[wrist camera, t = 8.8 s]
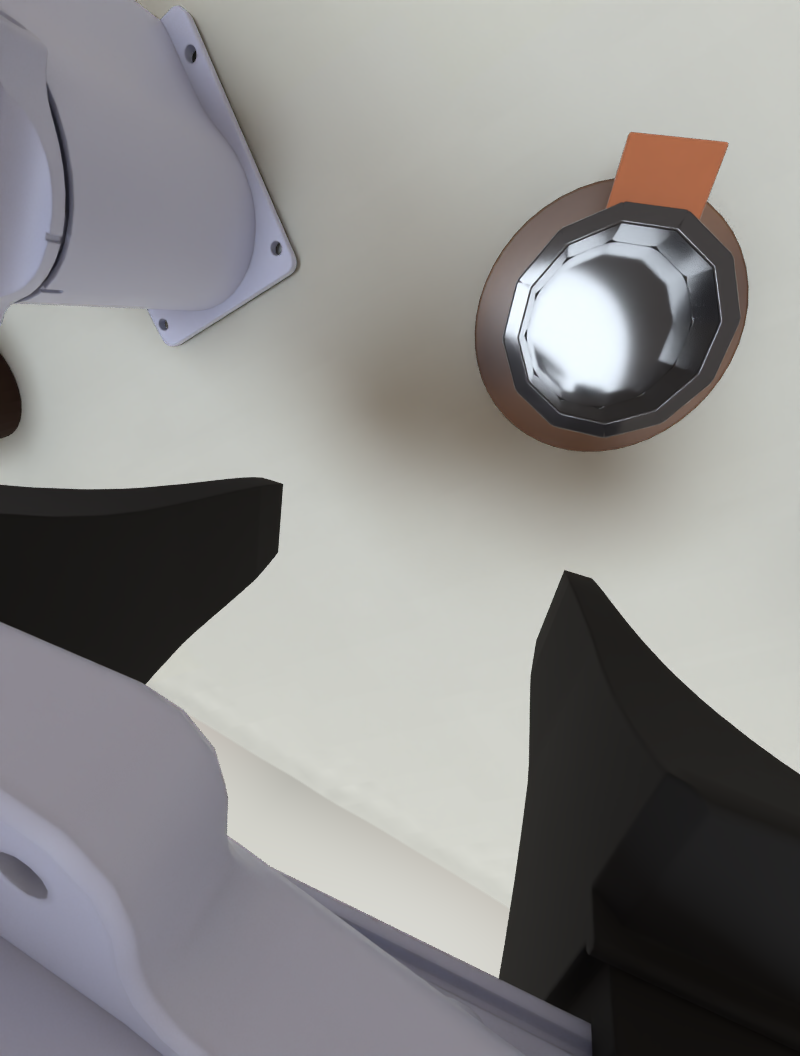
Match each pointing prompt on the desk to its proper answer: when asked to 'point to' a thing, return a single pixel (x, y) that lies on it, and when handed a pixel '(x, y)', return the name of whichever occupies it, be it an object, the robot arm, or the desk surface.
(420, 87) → the desk surface
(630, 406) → the dark grey cup
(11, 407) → the coffee mug
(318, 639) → the desk surface
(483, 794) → the desk surface
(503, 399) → the brown flat disc
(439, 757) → the desk surface
